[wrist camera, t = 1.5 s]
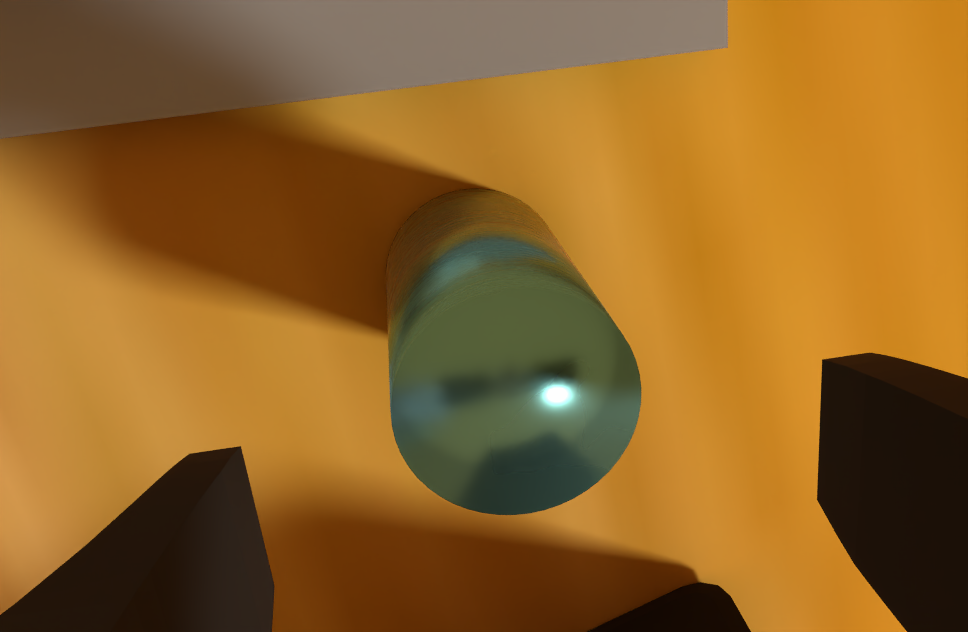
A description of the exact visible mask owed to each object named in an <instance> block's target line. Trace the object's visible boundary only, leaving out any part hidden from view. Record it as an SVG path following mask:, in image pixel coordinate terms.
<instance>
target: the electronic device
mask: <svg viewBox="0 0 968 632" xmlns="http://www.w3.org/2000/svg"><path fill="white" fill-rule="evenodd" d="M588 632H751V631H750V629H749V628H748V626H747V624H746V622H745V621H744V619H743V617H742V615H741V614H740V612H739V610H738V608H737V607H736V605H735V603H734V601H733V600H732V598H731V596H730V595H729V594H728V593H726V592H725V591H724V590H723V589H722V588H721V587H720V586H718V585H713V584H707V583H701V582H700V583H696V584H692V585H688V586H685V587H681V588H679V589H677V590H675V591H672V592H670V593H668V594H666V595H664V596H662V597H660V598H658V599H655V600H653V601H651V602H649V603H647V604H645V605H643V606H641V607H638V608H636V609H634V610H632V611H630V612H628V613H626V614H624V615H622V616H619V617H617V618H615V619H613V620H611V621H609V622H607V623H605V624H602V625H600V626H598V627H596V628H594V629H592V630H590V631H588Z"/></svg>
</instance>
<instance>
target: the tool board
mask: <svg viewBox="0 0 968 632" xmlns="http://www.w3.org/2000/svg"><path fill="white" fill-rule="evenodd" d="M720 48H728V25H727V0H0V139H1V138H9V137H17V136H25V135H33V134H41V133H49V132H57V131H65V130H73V129H81V128H89V127H97V126H105V125H113V124H121V123H129V122H137V121H145V120H153V119H161V118H169V117H177V116H185V115H193V114H201V113H209V112H217V111H225V110H233V109H241V108H249V107H257V106H265V105H273V104H281V103H289V102H297V101H305V100H313V99H321V98H329V97H337V96H345V95H353V94H361V93H369V92H377V91H385V90H393V89H401V88H409V87H417V86H425V85H433V84H441V83H449V82H457V81H465V80H473V79H481V78H488V77H496V76H504V75H512V74H520V73H528V72H536V71H544V70H552V69H560V68H568V67H576V66H584V65H592V64H600V63H608V62H616V61H624V60H632V59H640V58H648V57H656V56H664V55H672V54H680V53H688V52H696V51H704V50H712V49H720Z"/></svg>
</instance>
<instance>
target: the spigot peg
mask: <svg viewBox="0 0 968 632" xmlns="http://www.w3.org/2000/svg"><path fill="white" fill-rule="evenodd" d="M386 291H387V320H388V349H389V378H390V407H391V420H392V428H393V432H394V436H395V440H396V443H397V445H398V448H399V450H400V452H401V455H402V456H403V458H404V460H405V461H406V463H407V465H408V466H409V468H410V469H411V470H412V471H413V473H414V474H415V475H416V476H417V478H418V479H419V480H420V481H422V482H423V483H424V484H425V485H426V486H427V487H428V488H429V489H430V490H432V491H433V492H435V493H436V494H437V495H439V496H440V497H442V498H444V499H446V500H448V501H450V502H451V503H453V504H456V505H458V506H461V507H464V508H466V509H469V510H473V511H478V512H482V513H488V514H496V515H517V514H527V513H533V512H537V511H542V510H546V509H549V508H552V507H555V506H558V505H560V504H562V503H565V502H567V501H569V500H571V499H573V498H575V497H577V496H578V495H580V494H582V493H583V492H585V491H586V490H588V489H589V488H590V487H592V486H593V485H594V484H596V483H597V482H598V481H599V480H600V479H601V478H603V477H604V476H605V475H606V474H607V473H608V472H609V471H610V470H611V468H612V467H613V466H614V465H615V463H616V462H617V461H618V460H619V458H620V457H621V455H622V454H623V452H624V451H625V449H626V447H627V446H628V444H629V442H630V439H631V437H632V435H633V433H634V430H635V427H636V424H637V421H638V417H639V411H640V405H641V382H640V374H639V370H638V366H637V363H636V359H635V357H634V355H633V352H632V350H631V348H630V346H629V344H628V342H627V341H626V339H625V338H624V336H623V334H622V333H621V331H620V330H619V329H618V327H617V326H616V324H615V323H614V321H613V320H612V318H611V317H610V316H609V314H608V313H607V311H606V310H605V308H604V307H603V305H602V304H601V303H600V301H599V300H598V298H597V297H596V295H595V294H594V292H593V291H592V290H591V288H590V287H589V285H588V284H587V282H586V281H585V279H584V278H583V277H582V275H581V274H580V272H579V271H578V269H577V268H576V266H575V265H574V264H573V262H572V261H571V259H570V258H569V256H568V255H567V253H566V252H565V251H564V249H563V248H562V246H561V245H560V243H559V242H558V240H557V239H556V238H555V236H554V235H553V233H552V232H551V230H550V229H549V227H548V226H547V225H546V223H545V222H544V221H543V219H542V218H541V217H540V216H539V215H538V214H537V213H536V212H535V211H534V210H533V209H532V208H531V207H529V206H528V205H526V204H525V203H523V202H522V201H520V200H519V199H516V198H514V197H512V196H510V195H508V194H505V193H502V192H498V191H493V190H488V189H464V190H459V191H454V192H450V193H447V194H444V195H441V196H439V197H437V198H435V199H433V200H431V201H429V202H428V203H426V204H425V205H423V206H422V207H420V208H419V209H418V210H417V211H416V212H415V213H413V214H412V215H411V216H410V217H409V219H408V220H407V221H406V222H405V223H404V224H403V226H402V227H401V229H400V230H399V232H398V233H397V235H396V237H395V239H394V241H393V243H392V246H391V249H390V252H389V255H388V260H387V266H386Z"/></svg>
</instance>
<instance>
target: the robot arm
mask: <svg viewBox="0 0 968 632" xmlns="http://www.w3.org/2000/svg"><path fill="white" fill-rule="evenodd" d="M817 500H818V502H819V504H820V506H821V507H822V509H823V511H824V513H825V515H826V516H827V518H828V520H829V522H830V524H831V525H832V527H833V529H834V531H835V533H836V534H837V536H838V538H839V539H840V541H841V543H842V544H843V546H844V548H845V549H846V551H847V553H848V554H849V556H850V558H851V559H852V561H853V563H854V564H855V566H856V567H857V568H858V570H859V571H860V572H861V573H862V575H863V576H864V577H865V579H866V580H867V581H868V583H869V584H870V585H871V587H872V588H873V589H874V590H875V592H876V593H877V594H878V595H879V597H880V598H881V599H882V601H883V602H884V603H885V604H886V606H887V607H888V608H889V609H890V611H891V612H892V613H893V615H894V616H895V617H896V618H897V620H898V621H899V622H900V623H901V625H902V626H903V627H904V628H905V630H906V631H907V632H968V379H967V378H964V377H961V376H958V375H954V374H951V373H948V372H945V371H942V370H938V369H935V368H932V367H928V366H925V365H921V364H918V363H914V362H911V361H907V360H903V359H899V358H895V357H891V356H886V355H881V354H875V353H864V354H857V355H851V356H844V357H837V358H830V359H824V360H822V383H821V410H820V436H819V463H818V490H817ZM273 602H274V582H273V578H272V574H271V570H270V566H269V562H268V557H267V553H266V549H265V545H264V541H263V537H262V532H261V528H260V524H259V520H258V516H257V512H256V508H255V503H254V499H253V495H252V491H251V487H250V483H249V478H248V474H247V470H246V466H245V462H244V458H243V454H242V449H241V446H239V447H233V448H226V449H219V450H213V451H206V452H199V453H192V454H189V455H187V456H186V457H185V458H183V459H182V460H181V461H179V462H178V463H177V464H176V465H174V466H173V467H172V468H171V469H170V470H169V471H168V472H166V473H165V474H164V475H163V476H162V477H161V478H160V479H159V480H157V481H156V482H155V483H154V484H153V485H152V486H151V487H150V488H149V489H148V490H146V491H145V492H144V493H143V494H142V495H141V496H140V497H139V498H138V499H137V500H136V501H135V502H133V503H132V504H131V505H130V506H129V507H128V508H127V509H126V510H125V511H123V512H122V513H121V514H120V515H119V516H118V517H117V518H116V519H115V520H113V521H112V522H111V523H110V524H109V525H108V526H107V527H106V528H105V529H104V530H102V531H101V532H100V533H99V534H98V535H97V536H96V537H95V538H94V539H92V540H91V541H90V542H89V543H88V544H87V545H86V546H84V547H83V548H82V549H81V550H80V551H79V552H77V553H76V554H75V555H74V556H72V557H71V558H70V559H69V560H68V561H66V562H65V563H64V564H63V565H62V566H60V567H59V568H58V569H57V570H55V571H54V572H53V573H52V574H51V575H49V576H48V577H47V578H46V579H45V580H43V581H42V582H41V583H40V584H39V585H37V586H36V587H35V588H34V589H32V590H31V591H30V592H29V593H28V594H26V595H25V596H24V597H23V598H22V599H20V600H19V601H18V602H17V603H15V604H14V605H13V606H11V607H10V608H9V609H8V610H6V611H5V612H4V613H2V614H1V615H0V632H272V620H273Z"/></svg>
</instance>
